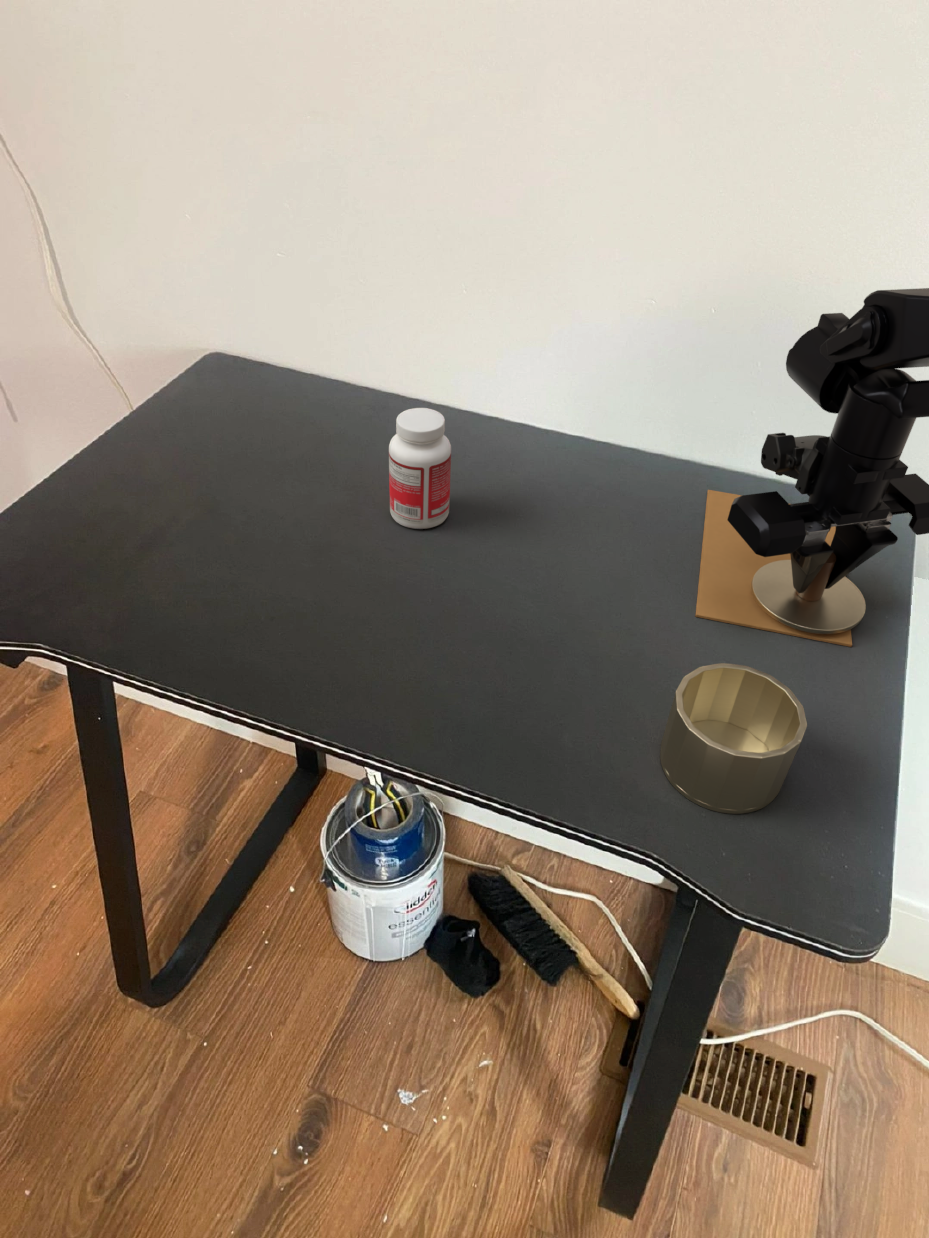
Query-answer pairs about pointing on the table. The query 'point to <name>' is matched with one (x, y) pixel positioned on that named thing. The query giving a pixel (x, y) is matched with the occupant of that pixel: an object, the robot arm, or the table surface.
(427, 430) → the pill bottle
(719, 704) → the pot
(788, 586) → the lid
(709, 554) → the mat
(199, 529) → the table surface
